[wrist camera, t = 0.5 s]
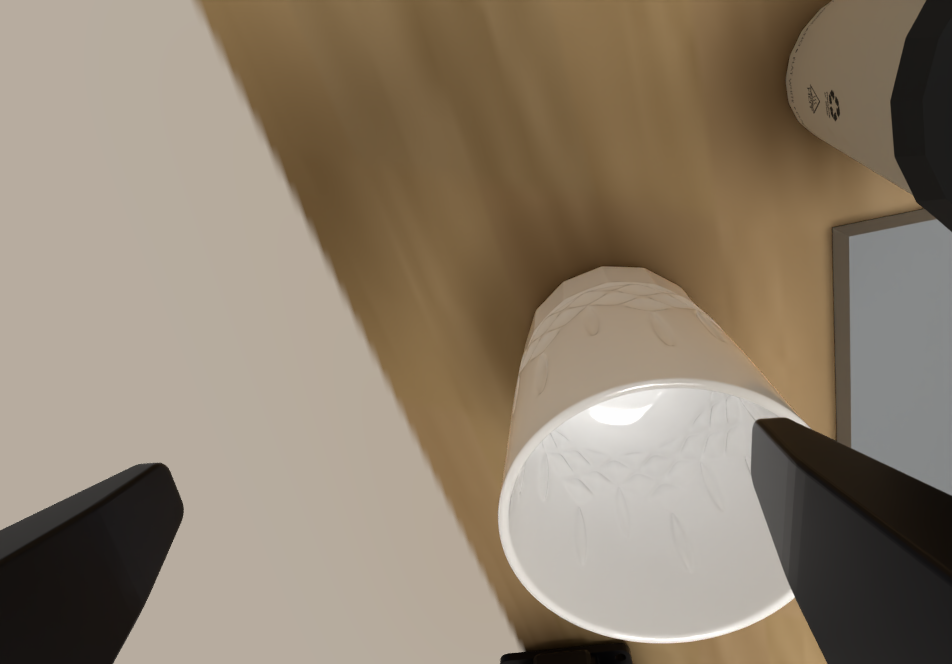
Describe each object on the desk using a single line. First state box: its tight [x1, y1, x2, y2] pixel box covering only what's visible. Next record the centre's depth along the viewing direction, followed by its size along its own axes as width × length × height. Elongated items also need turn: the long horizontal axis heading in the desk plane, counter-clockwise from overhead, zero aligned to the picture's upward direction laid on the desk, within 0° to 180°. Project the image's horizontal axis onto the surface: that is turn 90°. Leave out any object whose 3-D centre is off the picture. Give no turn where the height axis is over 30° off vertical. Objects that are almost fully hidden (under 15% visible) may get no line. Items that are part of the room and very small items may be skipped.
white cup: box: [498, 266, 811, 643], centre depth 19 cm, size 8×8×10 cm
